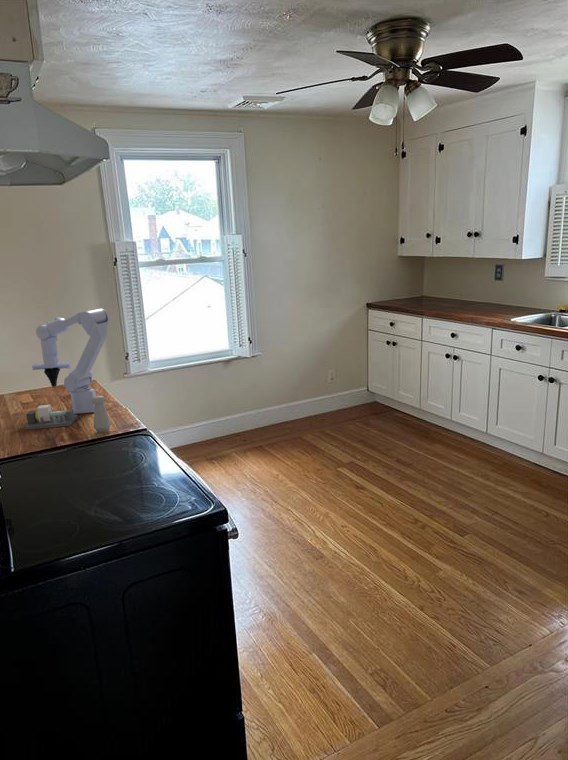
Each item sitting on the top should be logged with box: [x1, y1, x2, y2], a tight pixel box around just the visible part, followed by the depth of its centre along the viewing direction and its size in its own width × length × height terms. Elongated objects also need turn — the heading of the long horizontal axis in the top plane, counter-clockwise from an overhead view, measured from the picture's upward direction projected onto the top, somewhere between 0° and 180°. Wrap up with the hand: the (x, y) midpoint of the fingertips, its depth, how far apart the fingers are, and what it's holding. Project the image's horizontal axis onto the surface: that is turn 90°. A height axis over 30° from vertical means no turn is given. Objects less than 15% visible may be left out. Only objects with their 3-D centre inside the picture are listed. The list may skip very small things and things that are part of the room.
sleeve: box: [36, 404, 53, 422], centre depth 205 cm, size 4×4×5 cm
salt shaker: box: [92, 395, 112, 434], centre depth 192 cm, size 6×6×13 cm
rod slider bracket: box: [25, 408, 78, 430], centre depth 206 cm, size 16×10×5 cm, turn 97°
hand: (54, 385), depth 223 cm, fingers closed
